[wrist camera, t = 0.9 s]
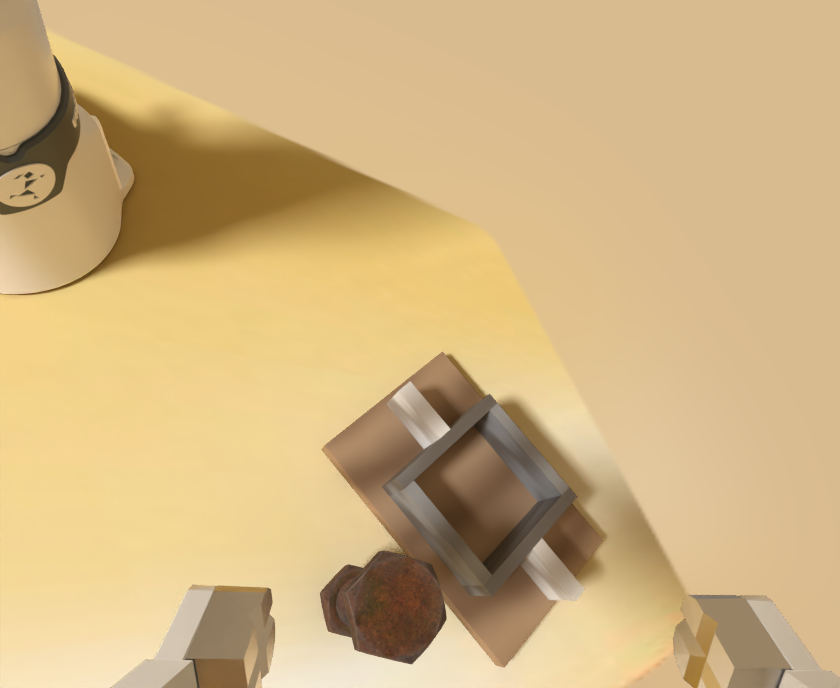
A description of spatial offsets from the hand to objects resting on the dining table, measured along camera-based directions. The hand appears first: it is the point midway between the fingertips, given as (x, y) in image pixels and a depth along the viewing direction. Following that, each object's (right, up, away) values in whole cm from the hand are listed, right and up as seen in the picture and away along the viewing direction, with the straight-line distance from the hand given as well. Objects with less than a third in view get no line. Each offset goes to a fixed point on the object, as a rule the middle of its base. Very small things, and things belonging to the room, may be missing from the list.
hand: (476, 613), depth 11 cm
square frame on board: (+3, -8, +38) cm, 39 cm away
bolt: (-7, -14, +32) cm, 36 cm away
